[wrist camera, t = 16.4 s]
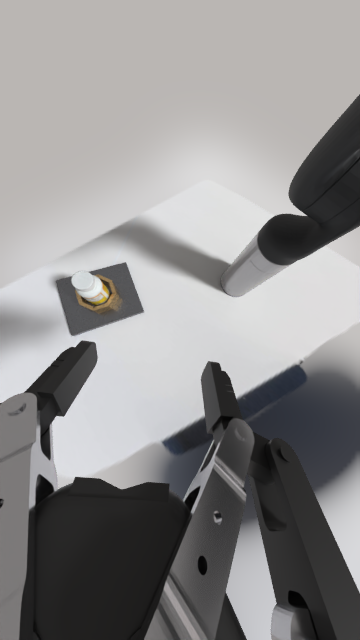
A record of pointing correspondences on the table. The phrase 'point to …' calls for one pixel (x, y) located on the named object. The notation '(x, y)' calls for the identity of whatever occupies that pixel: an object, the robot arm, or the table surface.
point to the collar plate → (116, 308)
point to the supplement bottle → (90, 288)
